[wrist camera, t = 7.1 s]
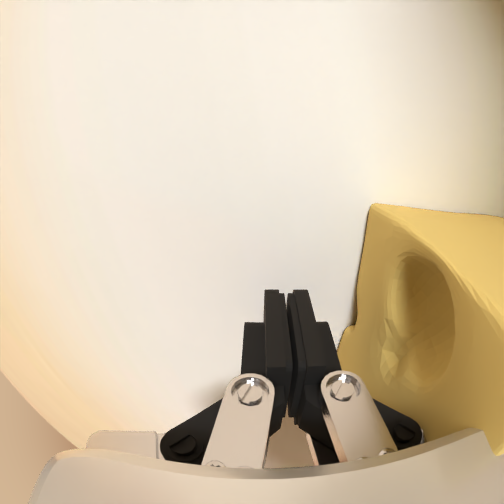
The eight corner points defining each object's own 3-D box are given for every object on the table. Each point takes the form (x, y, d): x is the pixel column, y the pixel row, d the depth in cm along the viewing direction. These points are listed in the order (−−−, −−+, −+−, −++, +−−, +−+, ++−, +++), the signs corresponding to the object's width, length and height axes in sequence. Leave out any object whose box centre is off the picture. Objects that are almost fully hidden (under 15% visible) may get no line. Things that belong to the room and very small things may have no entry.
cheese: (324, 373, 15) (350, 535, 6) (362, 183, 10) (576, 379, 1) (457, 354, 14) (512, 462, 5) (513, 208, 10) (633, 300, 1)
